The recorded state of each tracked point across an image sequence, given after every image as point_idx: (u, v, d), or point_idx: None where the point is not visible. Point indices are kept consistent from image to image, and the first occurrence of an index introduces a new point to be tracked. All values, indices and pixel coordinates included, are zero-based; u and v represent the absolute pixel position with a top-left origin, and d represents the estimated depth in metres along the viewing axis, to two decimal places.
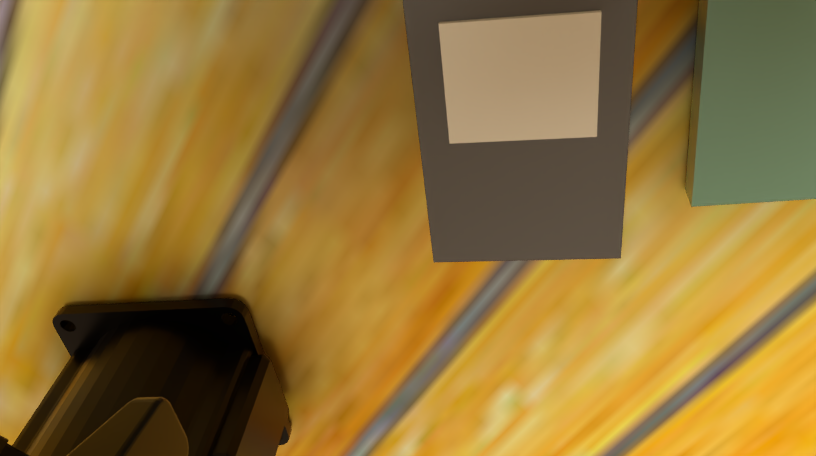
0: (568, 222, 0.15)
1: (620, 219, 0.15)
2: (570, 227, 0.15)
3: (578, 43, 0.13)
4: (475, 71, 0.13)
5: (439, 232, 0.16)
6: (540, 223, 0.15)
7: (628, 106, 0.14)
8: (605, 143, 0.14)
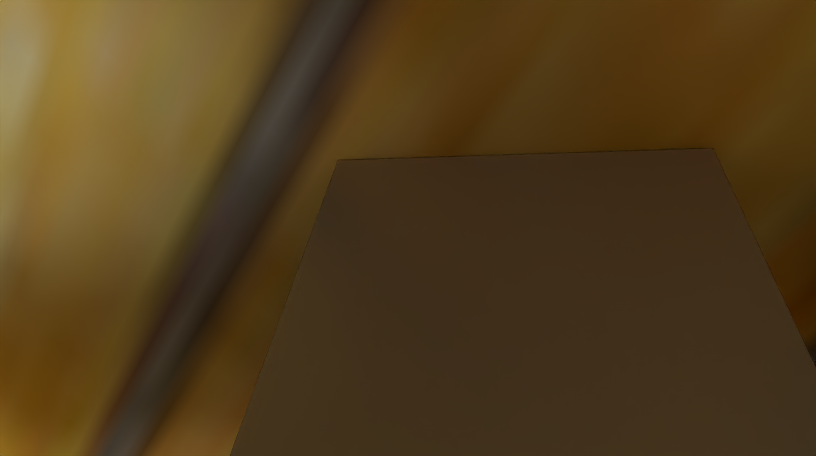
0: None
1: None
2: None
3: None
4: None
5: None
6: None
7: None
8: None
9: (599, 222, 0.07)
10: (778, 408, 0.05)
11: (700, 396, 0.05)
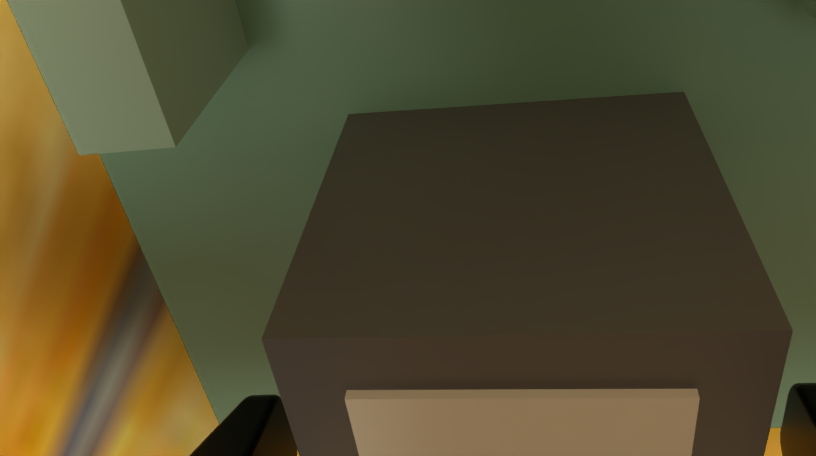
0: None
1: None
2: None
3: (644, 436, 0.06)
4: None
5: None
6: None
7: None
8: None
9: (579, 153, 0.08)
10: (723, 285, 0.06)
11: (657, 280, 0.06)
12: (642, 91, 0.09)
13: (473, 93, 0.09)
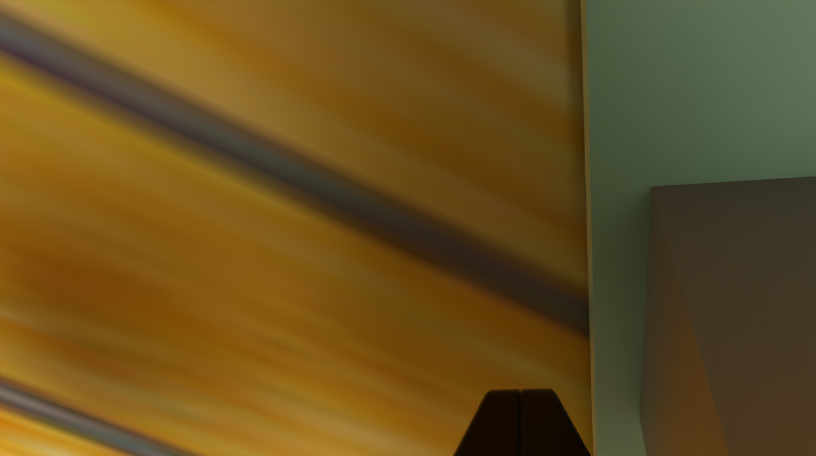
0: None
1: None
2: None
3: None
4: None
5: None
6: None
7: None
8: None
9: None
10: None
11: None
12: None
13: None
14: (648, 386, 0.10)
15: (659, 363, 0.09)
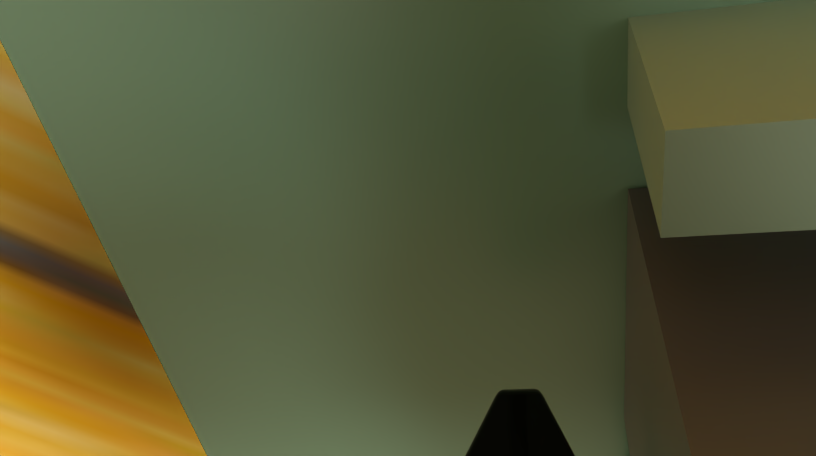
0: None
1: None
2: None
3: None
4: None
5: None
6: None
7: None
8: None
9: None
10: None
11: None
12: (554, 395, 0.11)
13: (559, 292, 0.10)
14: (629, 386, 0.10)
15: (637, 364, 0.09)
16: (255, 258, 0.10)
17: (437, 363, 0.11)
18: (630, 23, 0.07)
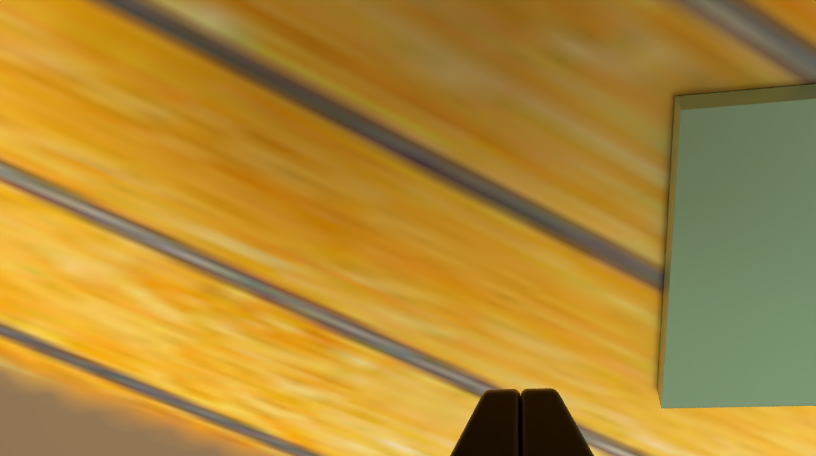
0: None
1: None
2: None
3: None
4: None
5: None
6: None
7: None
8: None
9: None
10: None
11: None
12: None
13: None
14: None
15: None
16: (753, 243, 0.20)
17: None
18: None
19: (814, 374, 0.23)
